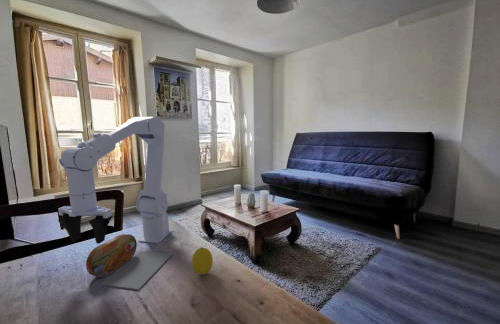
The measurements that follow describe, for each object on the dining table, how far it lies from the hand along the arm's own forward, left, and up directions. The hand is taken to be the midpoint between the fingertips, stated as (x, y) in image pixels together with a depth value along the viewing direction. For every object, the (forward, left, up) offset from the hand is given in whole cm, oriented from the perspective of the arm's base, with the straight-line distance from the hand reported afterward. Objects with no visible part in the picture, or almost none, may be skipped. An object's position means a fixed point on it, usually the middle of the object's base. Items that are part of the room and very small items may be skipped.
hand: (88, 240), depth 66 cm
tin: (-4, +4, -10) cm, 12 cm away
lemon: (-5, +31, -10) cm, 33 cm away
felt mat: (-5, +12, -10) cm, 16 cm away
